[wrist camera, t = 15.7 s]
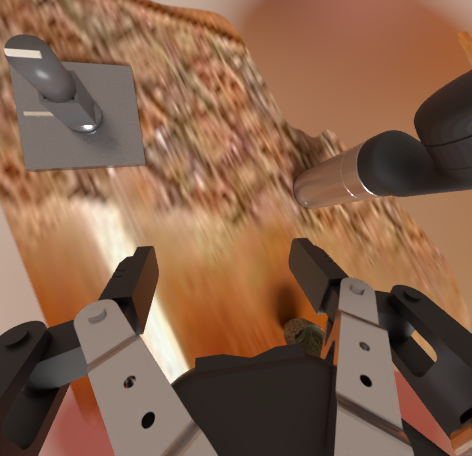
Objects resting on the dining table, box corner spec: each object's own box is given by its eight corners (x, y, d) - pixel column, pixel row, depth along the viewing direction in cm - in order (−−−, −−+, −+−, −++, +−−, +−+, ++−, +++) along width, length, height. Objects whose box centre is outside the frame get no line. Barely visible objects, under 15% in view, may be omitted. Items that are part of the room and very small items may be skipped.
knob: (92, 98, 34) (49, 34, 23) (96, 125, 34) (55, 74, 23) (60, 97, 32) (-2, 29, 22) (65, 125, 33) (5, 71, 22)
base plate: (132, 71, 37) (124, 46, 32) (146, 165, 38) (140, 155, 33) (14, 63, 33) (-17, 33, 28) (31, 171, 33) (4, 161, 28)
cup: (268, 324, 44) (287, 344, 36) (292, 302, 45) (315, 317, 38) (286, 349, 45) (307, 373, 37) (309, 326, 46) (334, 345, 39)
